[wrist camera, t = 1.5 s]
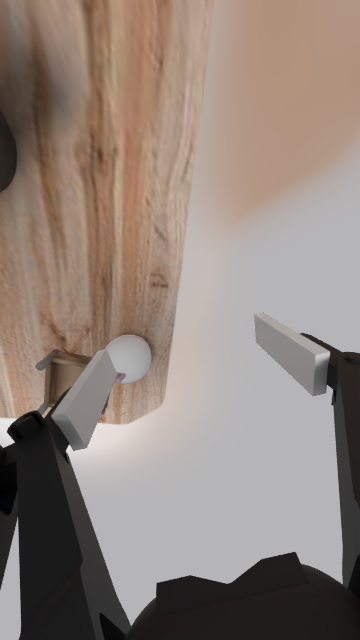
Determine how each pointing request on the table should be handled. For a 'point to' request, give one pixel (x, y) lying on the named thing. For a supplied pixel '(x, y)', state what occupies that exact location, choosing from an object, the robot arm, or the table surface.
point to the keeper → (61, 375)
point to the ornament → (129, 357)
